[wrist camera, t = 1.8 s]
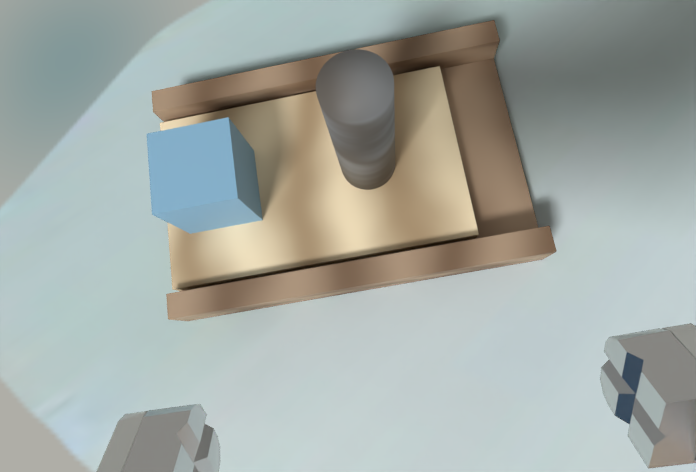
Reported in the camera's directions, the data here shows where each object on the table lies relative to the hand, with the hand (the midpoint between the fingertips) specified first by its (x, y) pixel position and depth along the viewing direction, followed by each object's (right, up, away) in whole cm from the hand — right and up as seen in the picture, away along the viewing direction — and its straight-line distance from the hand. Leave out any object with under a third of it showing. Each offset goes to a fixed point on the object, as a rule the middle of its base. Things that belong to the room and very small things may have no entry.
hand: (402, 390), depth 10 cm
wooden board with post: (-4, +7, +23) cm, 24 cm away
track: (-2, +7, +24) cm, 25 cm away
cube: (-10, +6, +22) cm, 25 cm away
